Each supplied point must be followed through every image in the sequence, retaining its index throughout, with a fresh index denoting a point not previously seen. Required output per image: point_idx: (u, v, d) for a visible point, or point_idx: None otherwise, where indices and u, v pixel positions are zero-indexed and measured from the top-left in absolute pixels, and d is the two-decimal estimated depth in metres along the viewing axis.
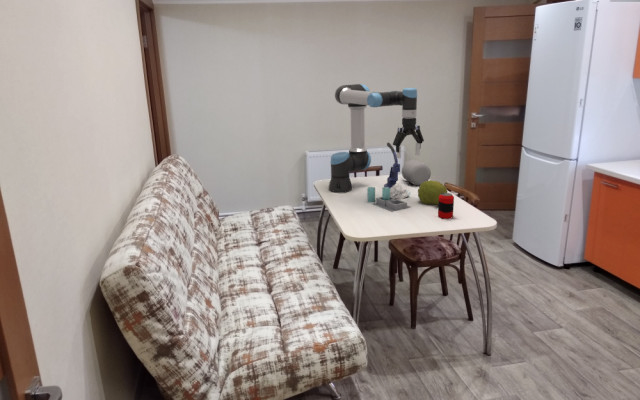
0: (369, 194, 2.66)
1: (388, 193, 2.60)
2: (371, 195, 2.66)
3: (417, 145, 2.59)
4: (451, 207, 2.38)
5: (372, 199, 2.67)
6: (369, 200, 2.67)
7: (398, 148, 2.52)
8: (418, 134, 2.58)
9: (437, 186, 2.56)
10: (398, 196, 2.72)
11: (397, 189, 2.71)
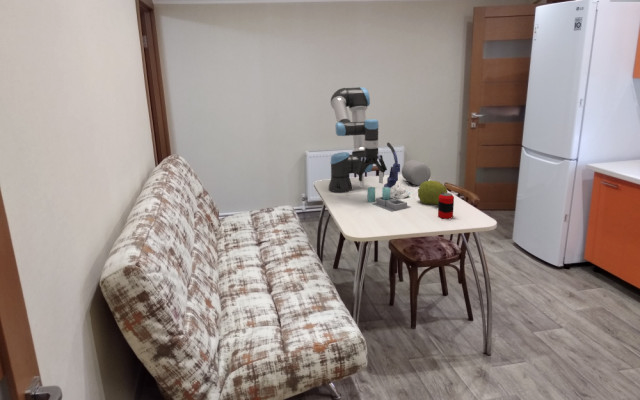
0: (369, 194, 2.66)
1: (388, 193, 2.60)
2: (371, 195, 2.66)
3: (380, 174, 2.68)
4: (451, 207, 2.38)
5: (372, 199, 2.67)
6: (369, 200, 2.67)
7: (361, 177, 2.60)
8: (381, 163, 2.66)
9: (437, 186, 2.56)
10: (398, 196, 2.72)
11: (397, 189, 2.71)
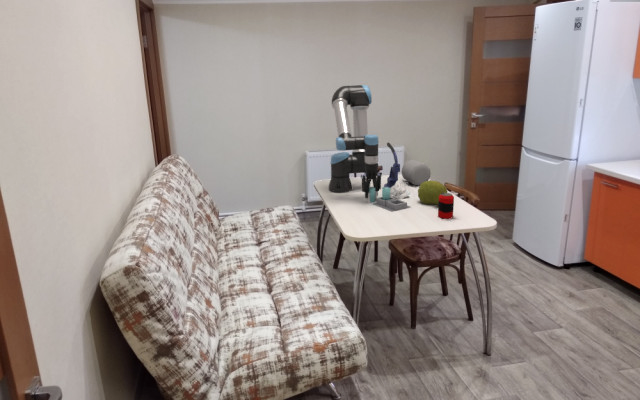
0: None
1: (388, 193, 2.60)
2: (371, 195, 2.66)
3: None
4: (451, 207, 2.38)
5: (372, 199, 2.67)
6: None
7: (367, 194, 2.65)
8: (378, 181, 2.68)
9: (437, 186, 2.56)
10: (397, 196, 2.72)
11: (396, 189, 2.70)
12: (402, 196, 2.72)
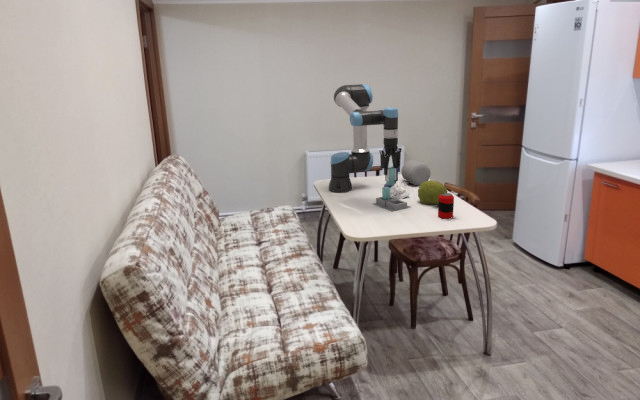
0: None
1: (388, 193, 2.60)
2: (390, 176, 2.52)
3: None
4: (451, 207, 2.38)
5: (391, 180, 2.53)
6: (388, 181, 2.53)
7: (386, 171, 2.51)
8: (397, 157, 2.54)
9: (437, 186, 2.56)
10: (397, 196, 2.72)
11: (396, 189, 2.70)
12: (402, 196, 2.72)
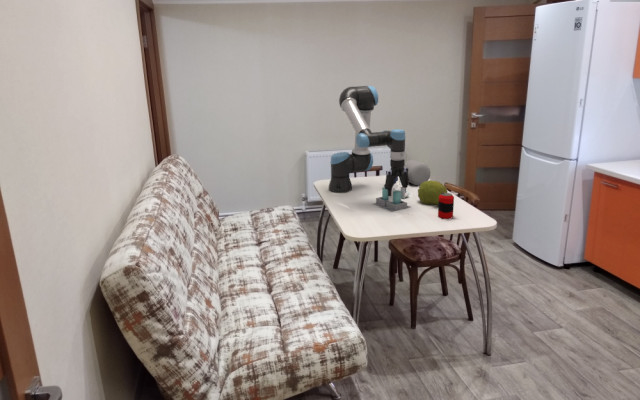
0: (394, 198, 2.53)
1: None
2: (397, 199, 2.53)
3: (402, 189, 2.56)
4: (451, 207, 2.38)
5: None
6: None
7: (390, 192, 2.51)
8: (405, 177, 2.55)
9: (437, 186, 2.56)
10: None
11: (396, 189, 2.70)
12: None
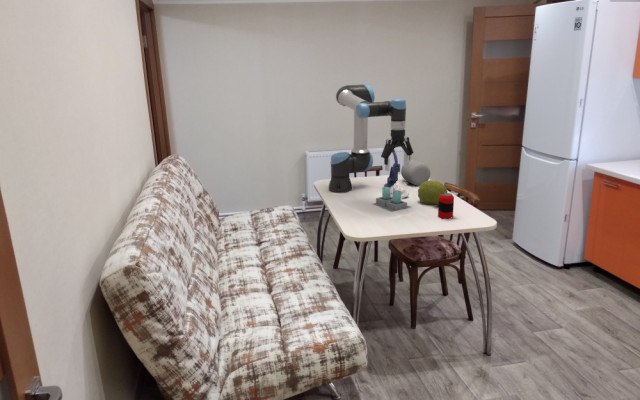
0: (394, 198, 2.54)
1: (388, 193, 2.60)
2: (397, 199, 2.53)
3: (406, 157, 2.52)
4: (451, 207, 2.38)
5: None
6: None
7: (386, 160, 2.45)
8: (407, 146, 2.51)
9: (437, 186, 2.56)
10: None
11: None
12: (401, 196, 2.72)
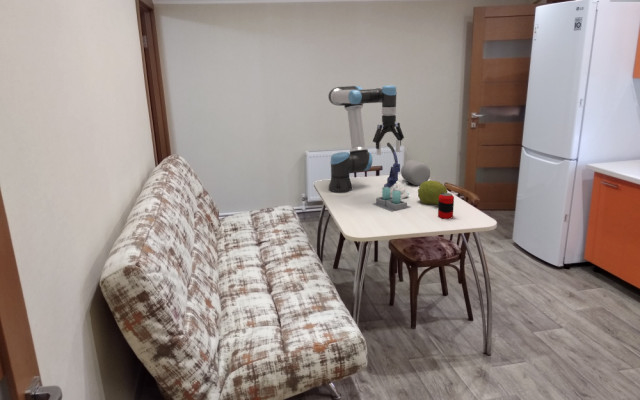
0: (394, 198, 2.54)
1: (388, 193, 2.60)
2: (396, 199, 2.53)
3: (397, 142, 2.63)
4: (451, 207, 2.38)
5: (398, 203, 2.54)
6: None
7: (378, 145, 2.55)
8: (398, 131, 2.61)
9: (437, 186, 2.56)
10: None
11: None
12: (401, 196, 2.71)
